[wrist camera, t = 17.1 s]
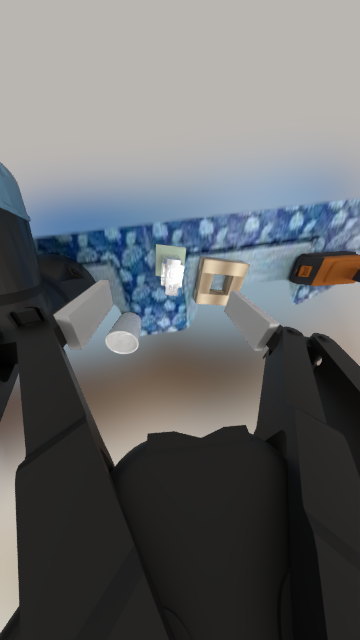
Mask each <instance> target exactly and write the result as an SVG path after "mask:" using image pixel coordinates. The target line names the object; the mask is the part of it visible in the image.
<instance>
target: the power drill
mask: <svg viewBox="0 0 360 640" xmlns="http://www.w3.org/2000/svg"><path fill="white" fill-rule="evenodd" d="M290 281H291V282H293V283H296V284H305V285H312V286H321V285H335V284H348V283H355V282H356V281H357V282H360V255H358V254H356V252H347V251H341V252H325V253H309V254H302V256H299V258H298V260H297V263H296V265H295V268H294V270H293V273H292V275H291V278H290Z"/></svg>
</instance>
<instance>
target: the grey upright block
mask: <svg viewBox="0 0 360 640" xmlns="http://www.w3.org/2000/svg"><path fill="white" fill-rule="evenodd" d="M183 270H184V265H183V263H182V261H181V260H180V258H179V256H178V255H170V254H163V258H162V273H161V286H166V288H165V295H175V296H177V291H178V287H181V286H182V278H183Z"/></svg>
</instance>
